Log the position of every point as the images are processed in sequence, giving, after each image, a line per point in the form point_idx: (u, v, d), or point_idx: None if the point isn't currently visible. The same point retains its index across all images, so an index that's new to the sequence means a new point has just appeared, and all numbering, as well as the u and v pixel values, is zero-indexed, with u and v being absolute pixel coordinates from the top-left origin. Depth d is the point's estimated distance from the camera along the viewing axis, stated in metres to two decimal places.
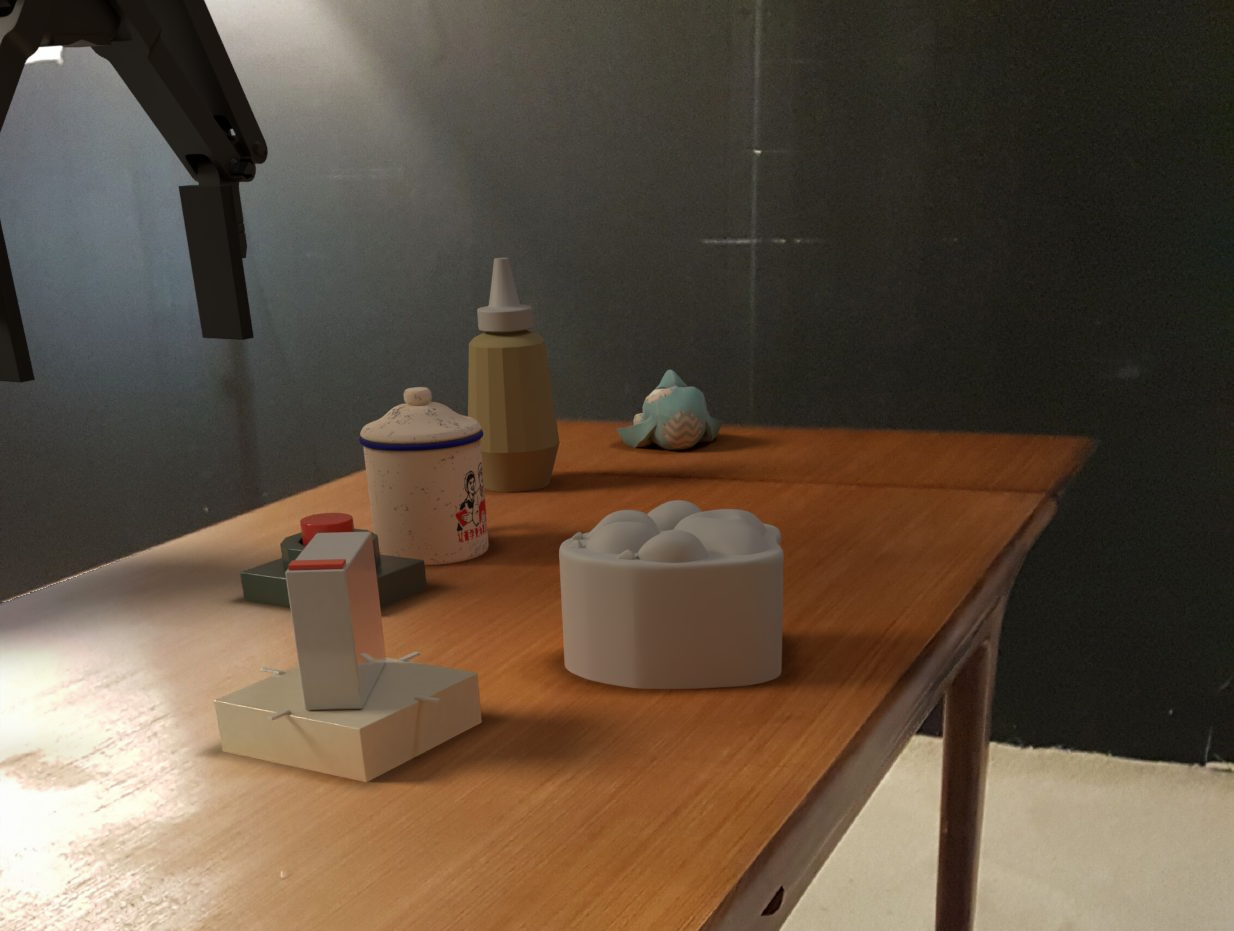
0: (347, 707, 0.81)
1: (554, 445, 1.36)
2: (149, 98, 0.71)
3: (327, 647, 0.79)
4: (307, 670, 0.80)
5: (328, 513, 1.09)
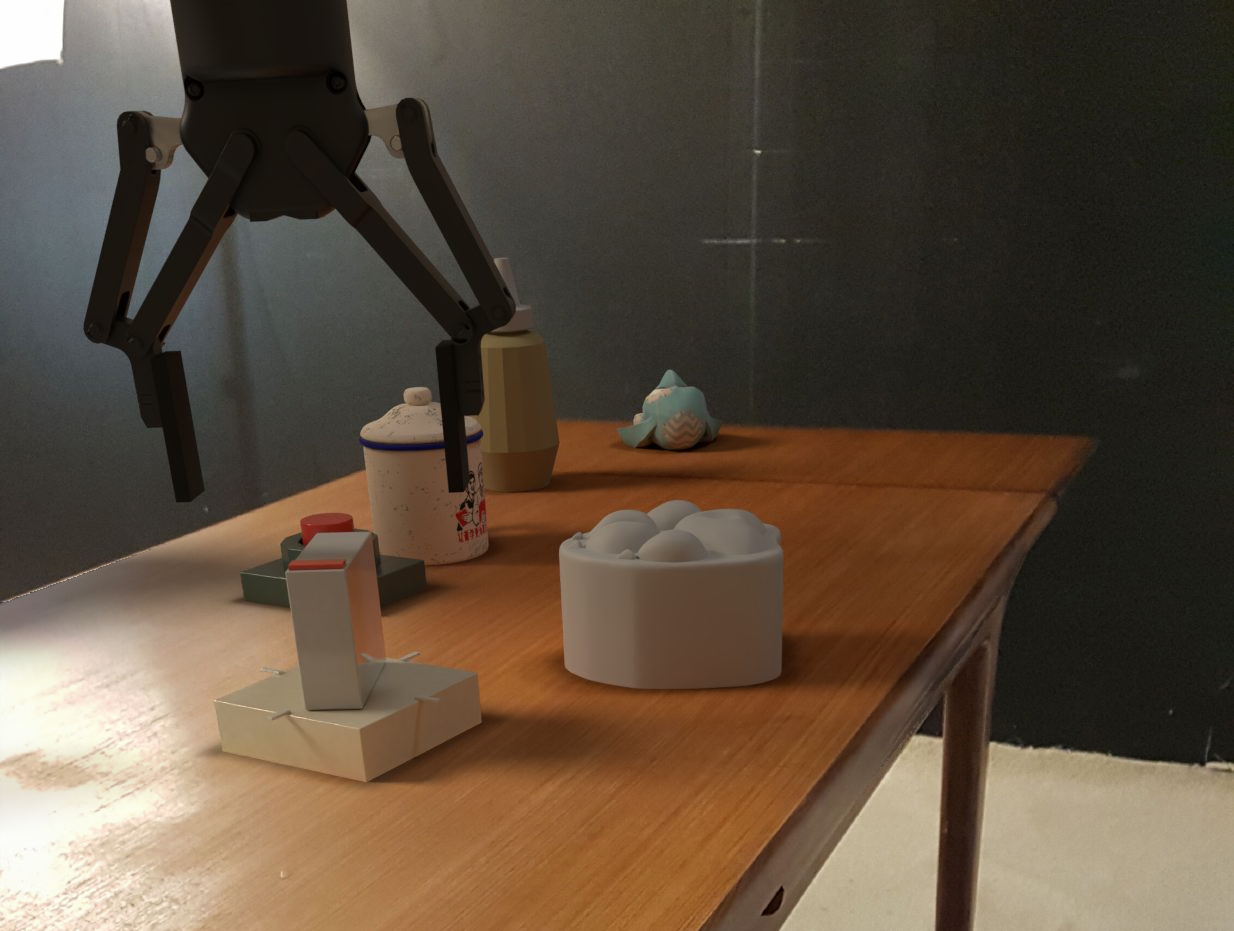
0: (347, 707, 0.81)
1: (554, 445, 1.36)
2: None
3: (327, 647, 0.79)
4: (307, 670, 0.80)
5: (328, 513, 1.09)
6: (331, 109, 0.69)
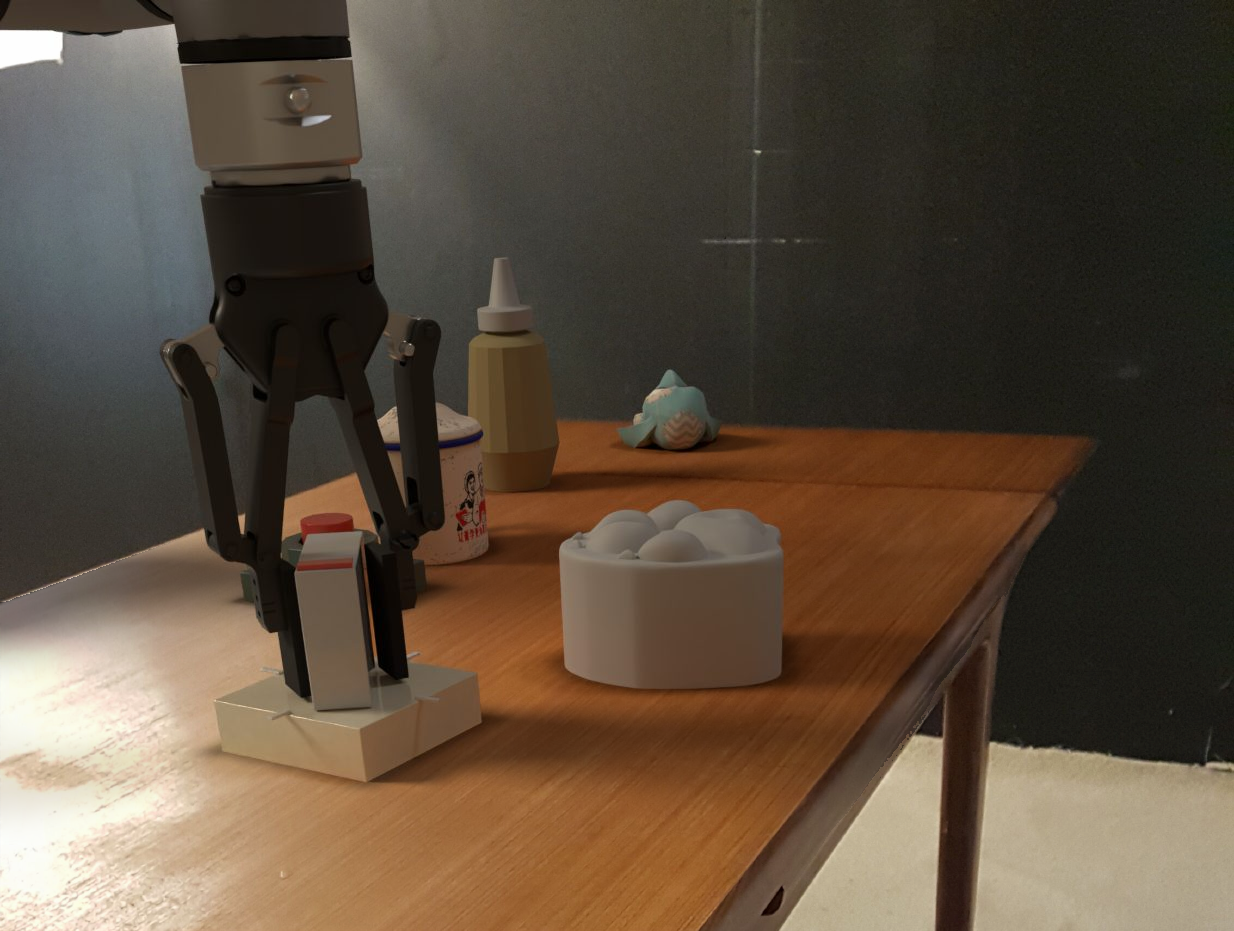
0: (356, 706, 0.81)
1: (554, 445, 1.36)
2: (354, 453, 0.79)
3: (337, 646, 0.79)
4: (316, 670, 0.80)
5: (328, 513, 1.09)
6: (368, 296, 0.75)
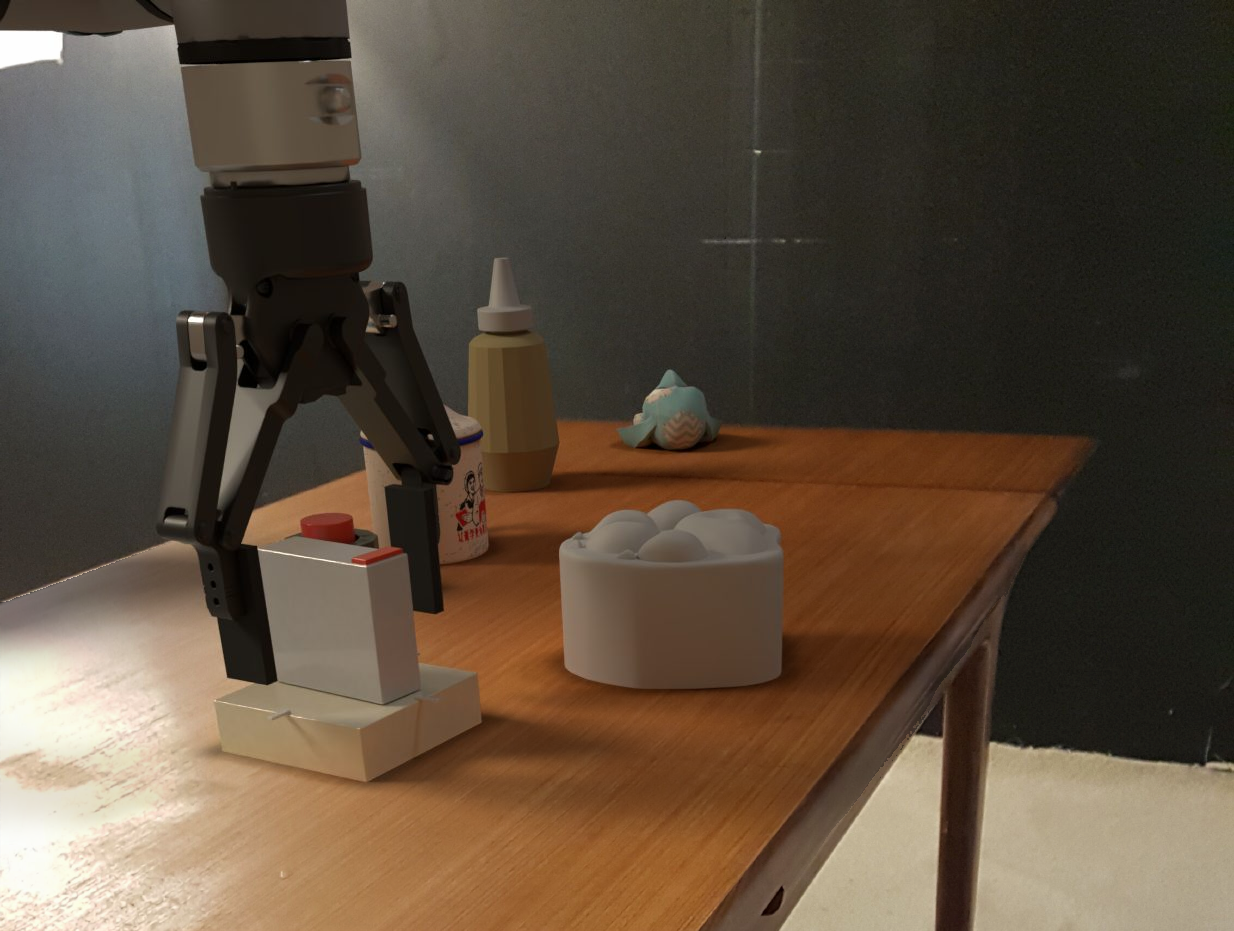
0: (412, 691, 0.82)
1: (554, 445, 1.36)
2: (368, 424, 0.81)
3: (397, 634, 0.80)
4: (384, 663, 0.80)
5: (328, 513, 1.09)
6: (354, 296, 0.76)
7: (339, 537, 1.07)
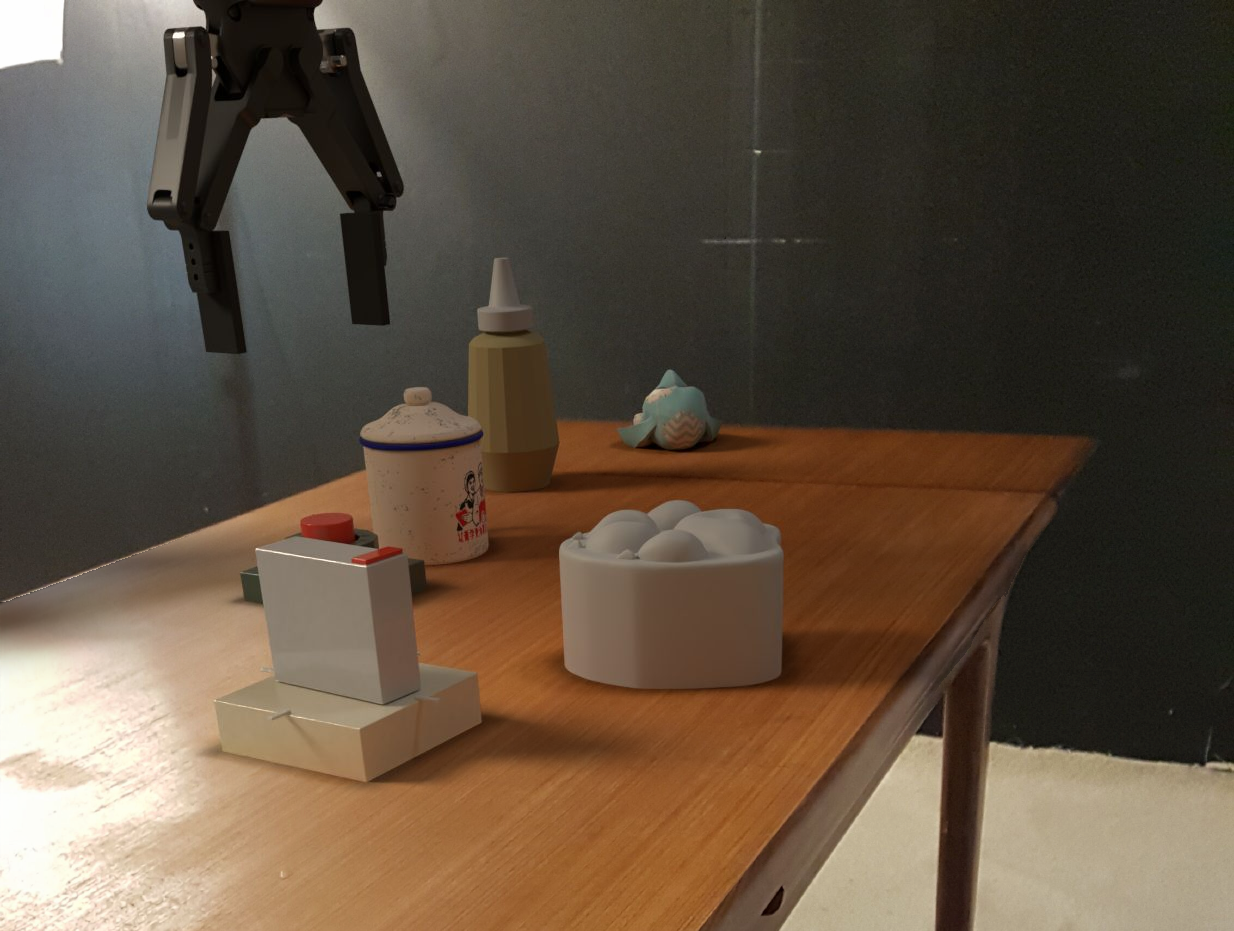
0: (412, 691, 0.82)
1: (554, 445, 1.36)
2: (324, 151, 0.99)
3: (397, 634, 0.80)
4: (384, 663, 0.80)
5: (328, 513, 1.09)
6: (309, 33, 0.93)
7: (339, 537, 1.07)
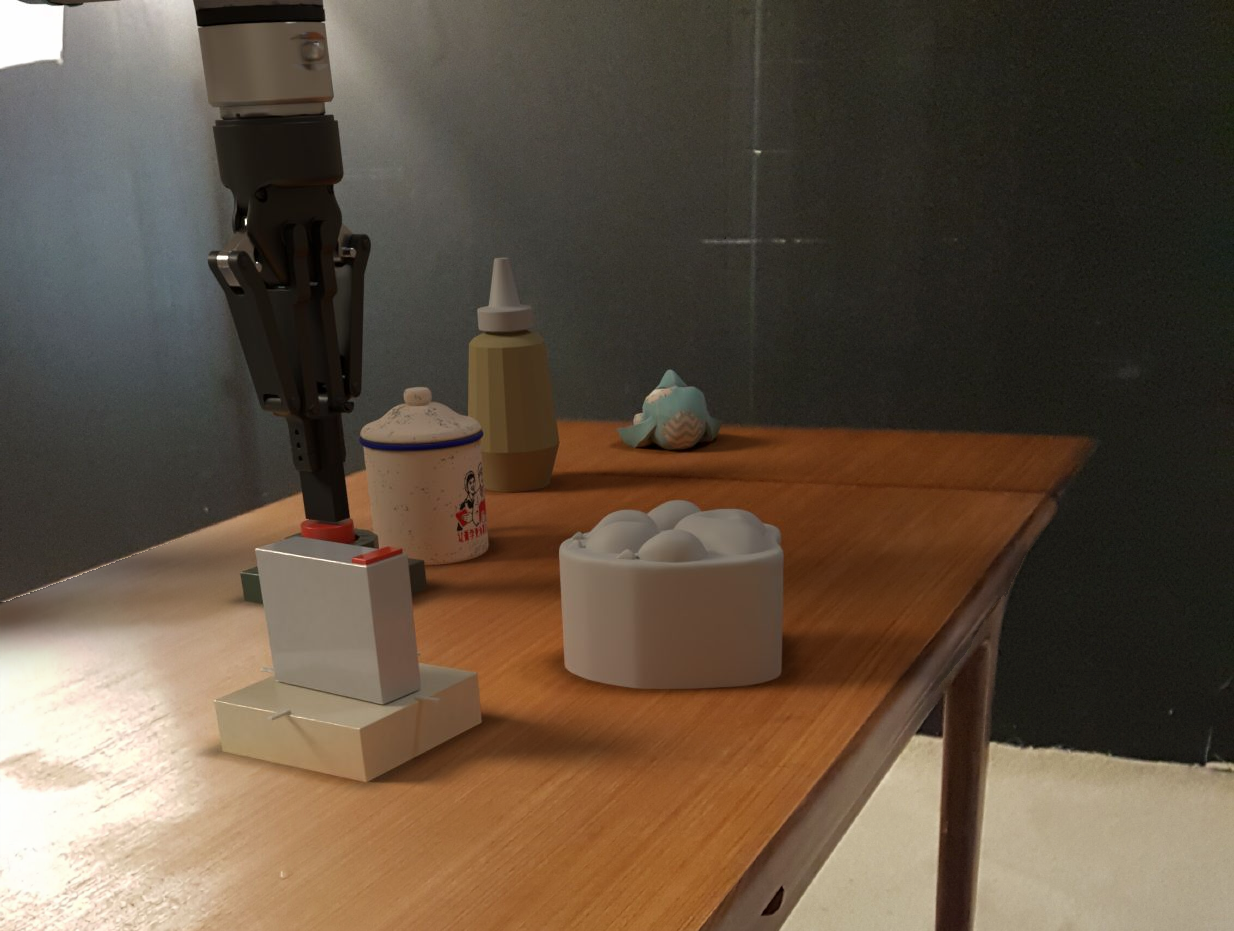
0: (412, 691, 0.82)
1: (554, 445, 1.36)
2: None
3: (397, 634, 0.80)
4: (384, 663, 0.80)
5: None
6: (334, 204, 0.99)
7: (340, 540, 1.07)
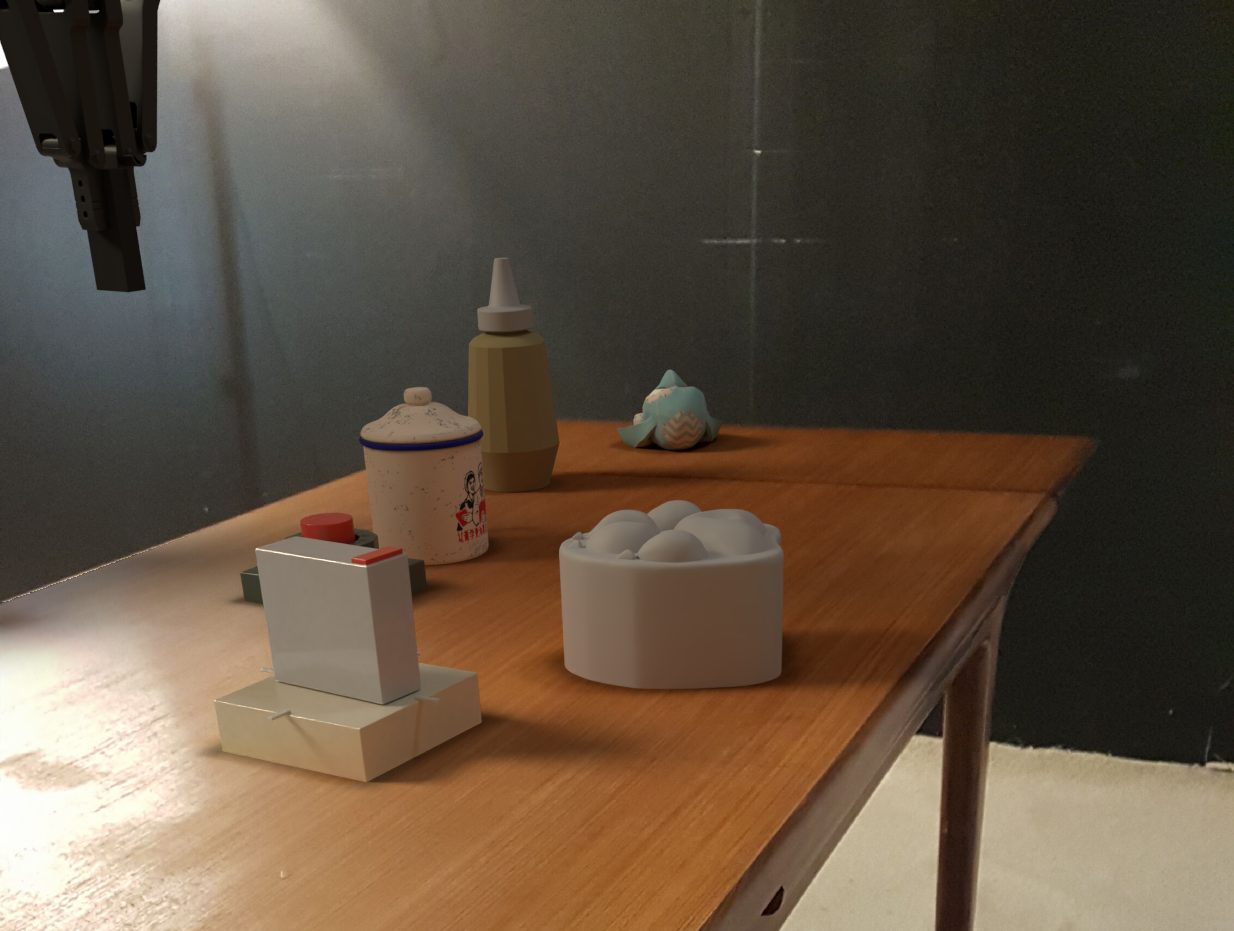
0: (412, 691, 0.82)
1: (554, 445, 1.36)
2: None
3: (397, 634, 0.80)
4: (384, 663, 0.80)
5: (328, 513, 1.09)
6: None
7: (339, 537, 1.07)
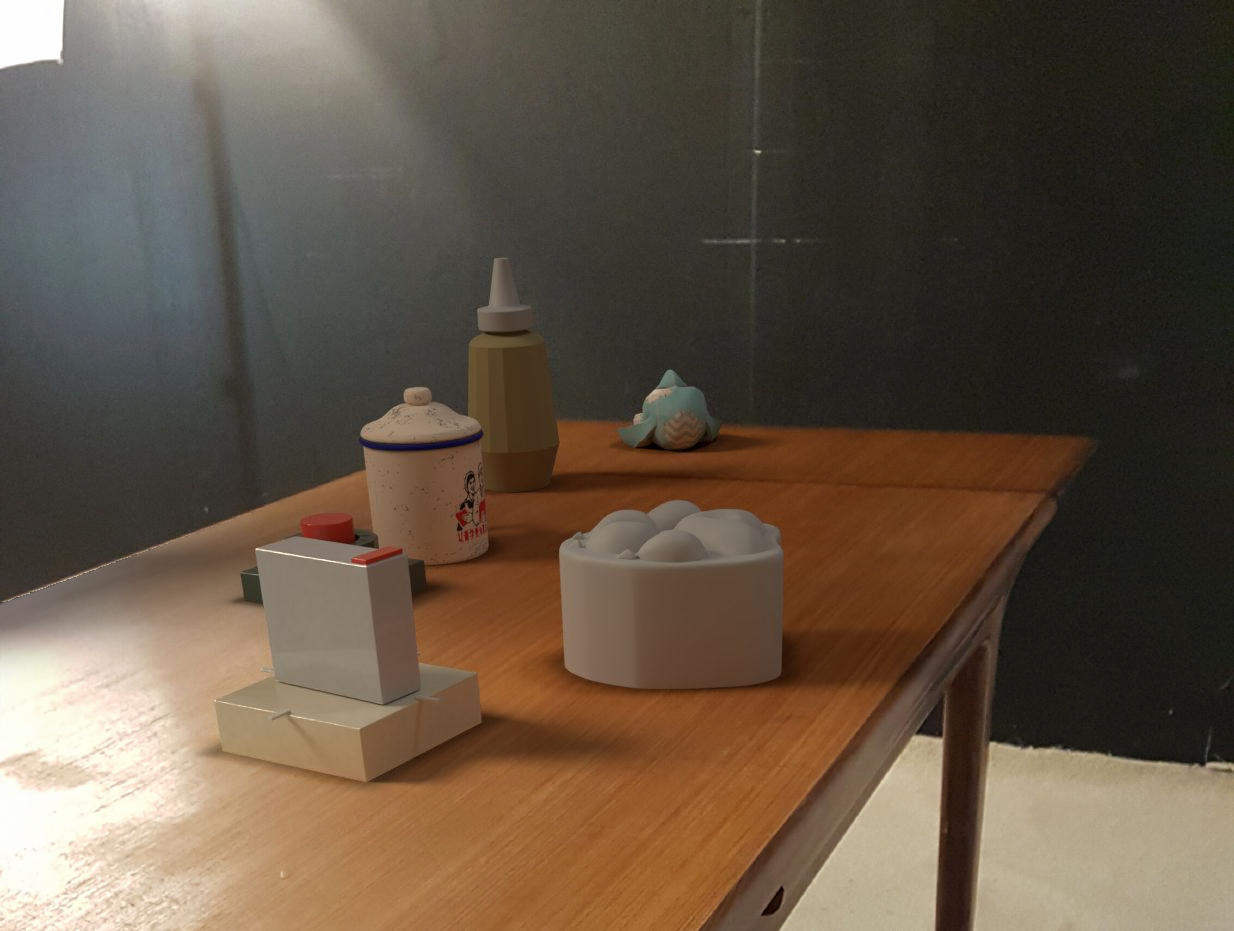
0: (412, 691, 0.82)
1: (554, 445, 1.36)
2: None
3: (397, 634, 0.80)
4: (384, 663, 0.80)
5: (328, 513, 1.09)
6: None
7: (339, 537, 1.07)
